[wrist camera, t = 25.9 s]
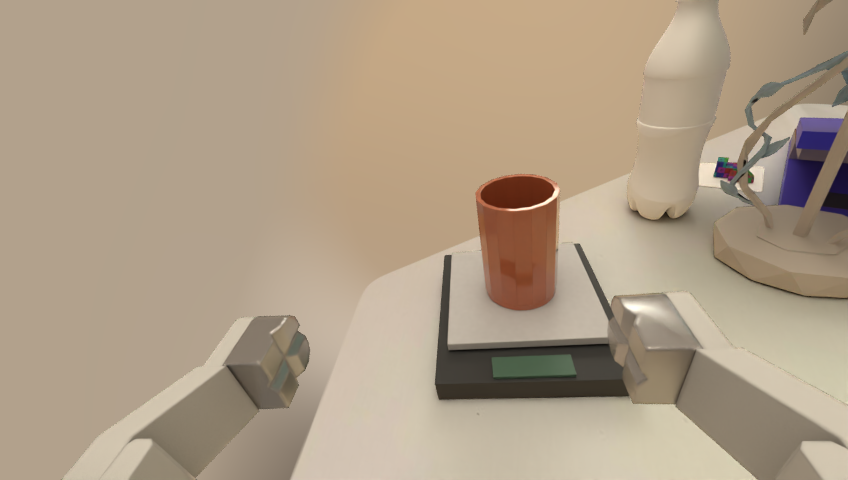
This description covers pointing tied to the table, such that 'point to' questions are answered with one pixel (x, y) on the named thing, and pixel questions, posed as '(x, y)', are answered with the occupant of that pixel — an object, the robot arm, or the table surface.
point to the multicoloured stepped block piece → (728, 174)
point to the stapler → (813, 165)
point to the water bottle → (678, 110)
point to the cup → (519, 239)
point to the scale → (525, 336)
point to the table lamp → (789, 207)
